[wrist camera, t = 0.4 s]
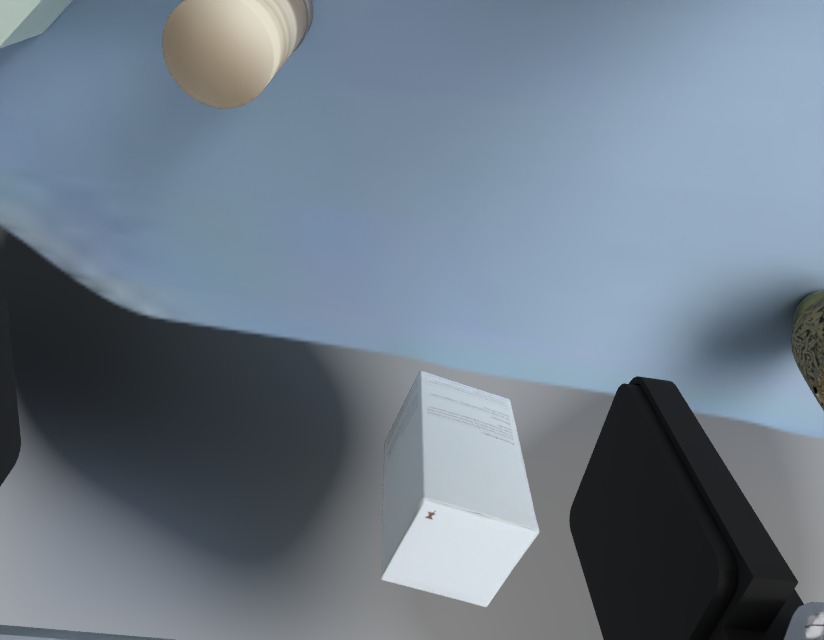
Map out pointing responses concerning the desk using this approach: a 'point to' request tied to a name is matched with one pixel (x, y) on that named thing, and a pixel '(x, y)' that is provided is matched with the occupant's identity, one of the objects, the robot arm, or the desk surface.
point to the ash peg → (232, 46)
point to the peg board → (27, 18)
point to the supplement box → (454, 492)
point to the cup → (810, 342)
